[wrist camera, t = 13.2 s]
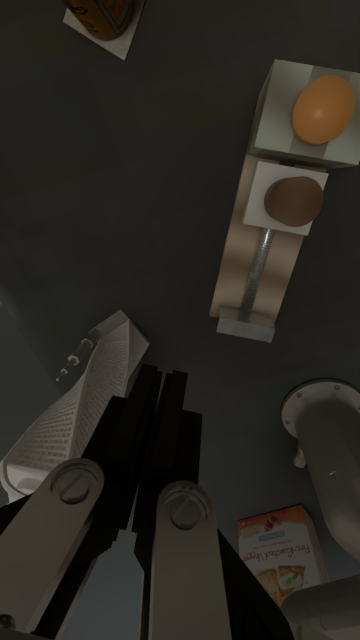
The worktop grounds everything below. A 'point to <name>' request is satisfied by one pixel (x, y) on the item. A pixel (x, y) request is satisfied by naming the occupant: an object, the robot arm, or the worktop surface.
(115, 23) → the condiment
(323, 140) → the button
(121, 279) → the worktop surface
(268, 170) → the carriage
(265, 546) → the cracker box
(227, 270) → the rail base
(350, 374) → the worktop surface
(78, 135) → the worktop surface
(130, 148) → the worktop surface
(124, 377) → the skyscraper
